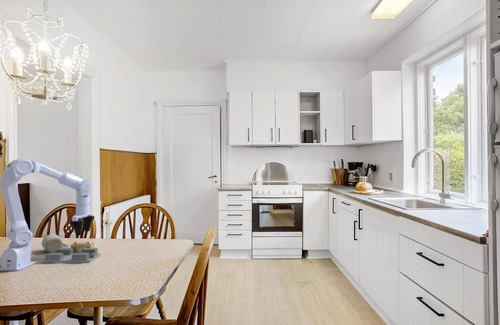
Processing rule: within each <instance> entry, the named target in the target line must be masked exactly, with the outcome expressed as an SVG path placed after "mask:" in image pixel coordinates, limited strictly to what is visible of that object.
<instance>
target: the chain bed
mask: <svg viewBox="0 0 500 325" xmlns="http://www.w3.org/2000/svg"><path fill="white" fill-rule="evenodd" d="M98 249H99V248H98V247H94V248H84V249H82V252H81V253H73V248H71V247H69V248H59V249H57V252H52V253H51V252H48V253H46V254H45V256H44V259H42V260H41V264H43V263H44V264H64V263H65V264H68V263H69V264H81V263H82V264H83V263H84V264H86V263H87V264H89V263H91V262H93V261H94V260H96V259H98V258H99V257H101V255H102V253H100V252H99V250H98Z"/></svg>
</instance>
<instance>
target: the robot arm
mask: <svg viewBox="0 0 500 325" xmlns="http://www.w3.org/2000/svg"><path fill="white" fill-rule="evenodd" d="M30 173H31V174H34V173H35V174H36V173H37V174H38V173H40V174H42V175H45V176H48V177H49V178H53V179H54V180H55V179H56V180H57V181H58V183H59V184H61V185H64V186H66V187H68V188H71V189H74V190H75V191H76V192H75V193H76V194H75V197H76V198H75V214H74V215H73V216H72V217H71V218H72V219H71V220H70V222H69V223H70V224H71V226H72V228H73V231H74V233H75V236H82V233H83V231H84V232H85V233H86V232H90V230H91V226H92V223H93V221H94V219H95V215H94V214H93V212H94V211H91V190H92V189H93V185H92V183H91V181H90V180H88V179H84V178H83V177H82V176H76V175H75V174H73V172H71V171H69V172H67V171H65V172H60V171H58V170H56V169H53V168H51V167H50V166H47V165H44V164H43V163H40V162H36V161H34V160H32V161H31V160H30V159H27V158H18V159H17V158H16V159H14V160H13V159H12V161H10V162H9V163H8V164H7V165H6V166H5V169H4V171H3V173H2V174H1V177H0V189H1V194H2V198H3V201H4V206H5V210H6V214H7V218H8V221H9V225H8V228H9V232H8V239H9V240H10V241H9V243H8V247H7V248H6V249H4V250H3V251H2V253H1V259H0V271H1V272H3V271H8V272H9V271H11V272H12V271H13V272H15V271H16V272H17V271H21V270H23V269H26V268H28V267H30V266H32V265H34V264H37V261H31V260H32V240H33V237H34V234H33V232H32V231H31V230H30V229H29V226H28V224H27V222H26V219H25V215H24V211H23V207H22V203H21V198H20V195H19V190H18V186H17V183H19V181H20V180H21V179H22V178H23V177H25V176H27V175H28V174H30Z"/></svg>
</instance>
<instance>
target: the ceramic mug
mask: <svg viewBox="0 0 500 325" xmlns="http://www.w3.org/2000/svg"><path fill="white" fill-rule="evenodd" d="M41 246H42V248H43V249H44V250H45V251H46V252H48V253H52V252H56V253H57V249H59V248H70V245H68V244H65V243H63V240H62V239H61V237H60V236H59V235H57V234H55V233H52V234H51V233H50V234H48V235H45V236H44V237H43V239H42V240H41Z"/></svg>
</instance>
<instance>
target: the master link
mask: <svg viewBox="0 0 500 325" xmlns="http://www.w3.org/2000/svg"><path fill="white" fill-rule="evenodd" d="M70 248H73V253H81V252H82V249H84V248H95V242H93V241H87V242H85V241H84V242H79V241H74V242H73V243H71V244H70Z"/></svg>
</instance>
